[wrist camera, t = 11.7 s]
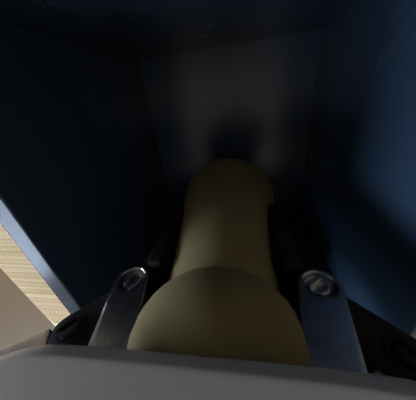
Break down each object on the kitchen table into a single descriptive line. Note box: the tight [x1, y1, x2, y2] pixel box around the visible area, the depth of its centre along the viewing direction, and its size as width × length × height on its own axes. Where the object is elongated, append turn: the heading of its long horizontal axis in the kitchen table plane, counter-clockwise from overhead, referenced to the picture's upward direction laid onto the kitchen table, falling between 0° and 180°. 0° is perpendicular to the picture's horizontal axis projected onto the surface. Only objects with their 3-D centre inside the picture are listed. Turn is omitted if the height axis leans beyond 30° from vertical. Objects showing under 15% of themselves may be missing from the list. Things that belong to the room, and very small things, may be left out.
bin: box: [0, 0, 416, 339], centre depth 12 cm, size 16×15×14 cm
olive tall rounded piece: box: [127, 158, 310, 366], centre depth 9 cm, size 6×6×11 cm
